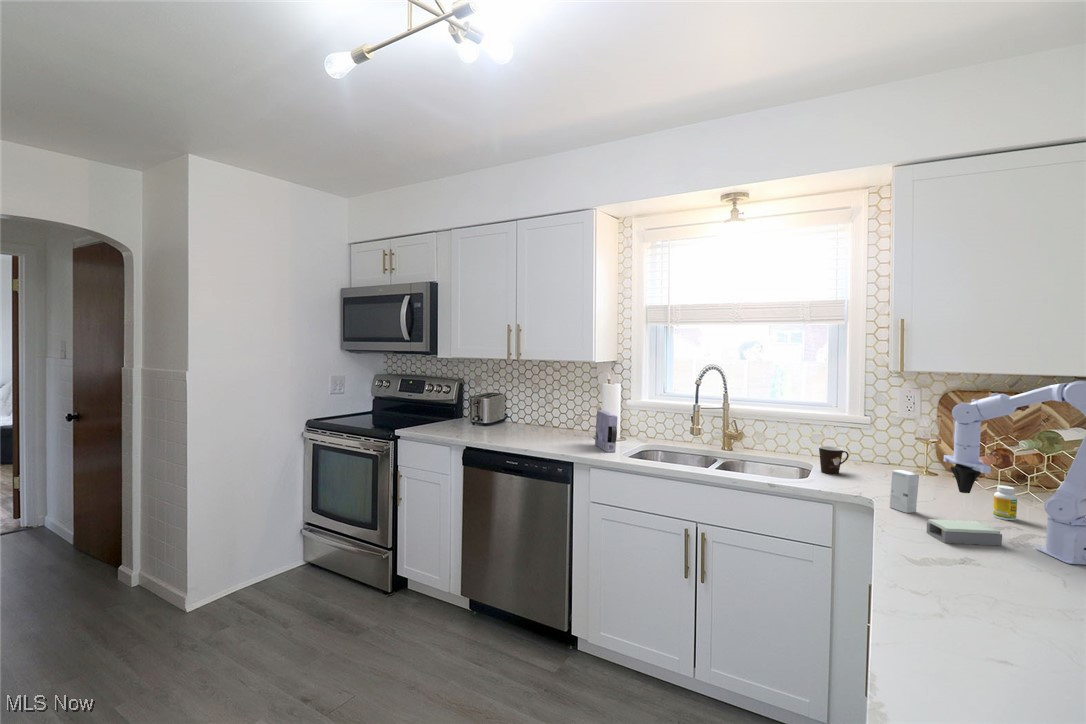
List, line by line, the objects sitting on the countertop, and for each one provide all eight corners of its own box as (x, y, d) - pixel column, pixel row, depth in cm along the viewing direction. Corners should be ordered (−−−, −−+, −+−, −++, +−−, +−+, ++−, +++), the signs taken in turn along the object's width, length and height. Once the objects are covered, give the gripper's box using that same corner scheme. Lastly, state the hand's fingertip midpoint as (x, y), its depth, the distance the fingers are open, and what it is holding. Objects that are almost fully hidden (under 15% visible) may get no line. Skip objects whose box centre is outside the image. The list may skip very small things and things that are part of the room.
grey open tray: (1001, 545, 137) (1002, 534, 137) (944, 543, 138) (945, 531, 138) (980, 535, 144) (980, 524, 144) (926, 532, 146) (926, 522, 146)
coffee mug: (820, 474, 212) (821, 449, 211) (816, 469, 220) (816, 445, 219) (853, 476, 208) (854, 451, 208) (847, 471, 216) (848, 447, 216)
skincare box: (888, 507, 169) (890, 470, 168) (899, 506, 170) (900, 469, 169) (907, 513, 163) (908, 474, 162) (917, 512, 164) (919, 473, 164)
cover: (1000, 533, 137) (1000, 530, 137) (946, 531, 138) (946, 528, 138) (979, 524, 144) (979, 521, 144) (928, 522, 145) (928, 519, 145)
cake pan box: (617, 453, 245) (618, 415, 244) (607, 453, 244) (608, 415, 243) (604, 445, 264) (604, 410, 263) (594, 445, 263) (595, 410, 262)
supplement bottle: (996, 514, 164) (997, 483, 163) (1018, 519, 159) (1020, 487, 159) (990, 517, 161) (991, 486, 160) (1012, 522, 156) (1014, 490, 156)
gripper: (1003, 450, 142) (1000, 500, 142) (961, 440, 156) (959, 485, 157) (976, 450, 142) (974, 499, 142) (937, 440, 156) (935, 485, 157)
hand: (964, 492), depth 149 cm, fingers closed
